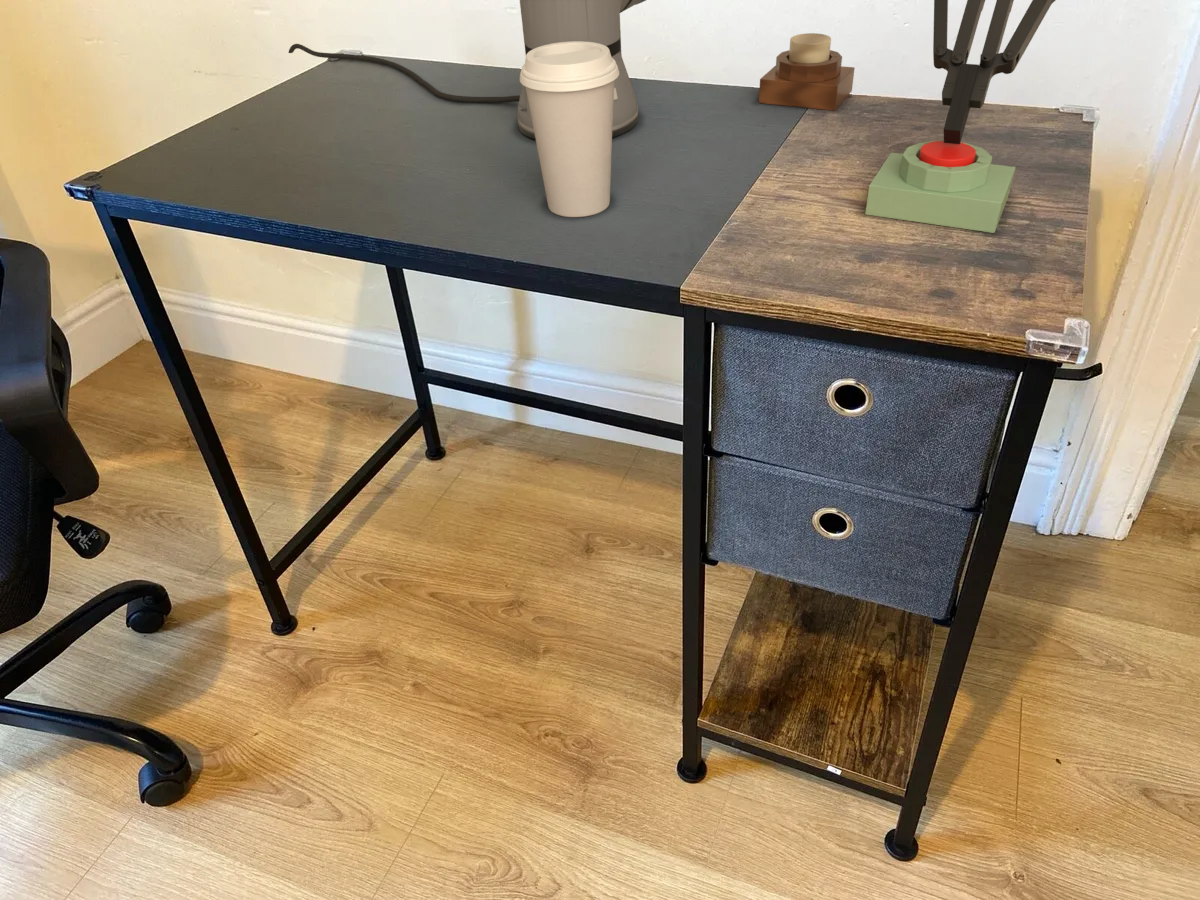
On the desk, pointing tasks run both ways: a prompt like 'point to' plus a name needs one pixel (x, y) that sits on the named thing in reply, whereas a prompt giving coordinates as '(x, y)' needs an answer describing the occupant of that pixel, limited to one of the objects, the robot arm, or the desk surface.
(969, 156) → the near button
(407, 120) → the desk surface
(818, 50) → the far button
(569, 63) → the coffee cup
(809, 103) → the wooden square base
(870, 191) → the sage console
